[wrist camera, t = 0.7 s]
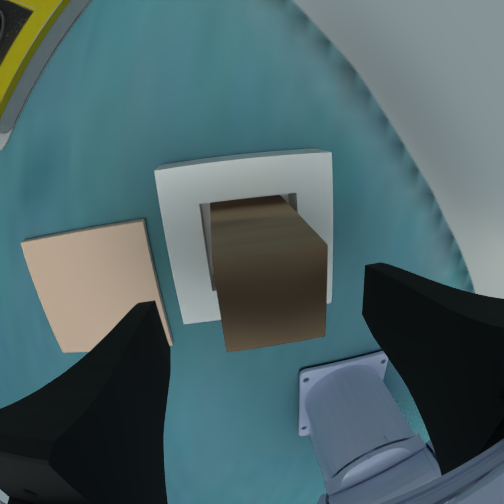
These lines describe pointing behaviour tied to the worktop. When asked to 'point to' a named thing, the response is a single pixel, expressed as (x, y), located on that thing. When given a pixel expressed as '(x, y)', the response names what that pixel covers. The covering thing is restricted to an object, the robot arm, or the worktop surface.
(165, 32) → the worktop surface
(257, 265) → the peg
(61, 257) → the pad
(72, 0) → the emergency button
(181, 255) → the pocket block
